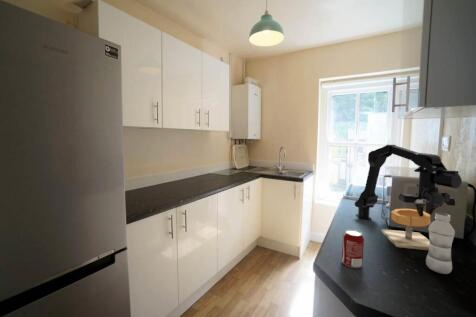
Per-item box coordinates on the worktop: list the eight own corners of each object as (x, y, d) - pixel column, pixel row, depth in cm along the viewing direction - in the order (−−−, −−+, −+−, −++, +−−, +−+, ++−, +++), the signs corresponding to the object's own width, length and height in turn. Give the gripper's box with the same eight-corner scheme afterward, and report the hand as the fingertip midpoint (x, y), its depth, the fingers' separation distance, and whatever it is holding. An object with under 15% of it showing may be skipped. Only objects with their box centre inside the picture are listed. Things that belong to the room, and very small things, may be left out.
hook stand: (381, 231, 108) (381, 218, 107) (418, 235, 104) (419, 222, 103) (396, 246, 92) (397, 232, 92) (441, 251, 89) (442, 236, 88)
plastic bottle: (450, 279, 71) (455, 219, 69) (423, 269, 76) (427, 213, 74) (452, 272, 75) (458, 215, 73) (427, 263, 80) (431, 210, 78)
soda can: (365, 270, 75) (367, 237, 74) (344, 268, 76) (345, 235, 75) (358, 260, 82) (360, 229, 81) (339, 258, 83) (340, 227, 82)
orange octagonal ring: (387, 216, 105) (387, 209, 105) (418, 215, 102) (418, 208, 102) (400, 226, 93) (400, 218, 92) (436, 226, 90) (436, 218, 89)
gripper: (412, 185, 89) (409, 223, 90) (468, 188, 85) (464, 227, 86) (399, 181, 100) (396, 214, 101) (447, 183, 95) (444, 217, 97)
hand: (424, 218), depth 96 cm, fingers closed on orange octagonal ring, 2 cm apart
